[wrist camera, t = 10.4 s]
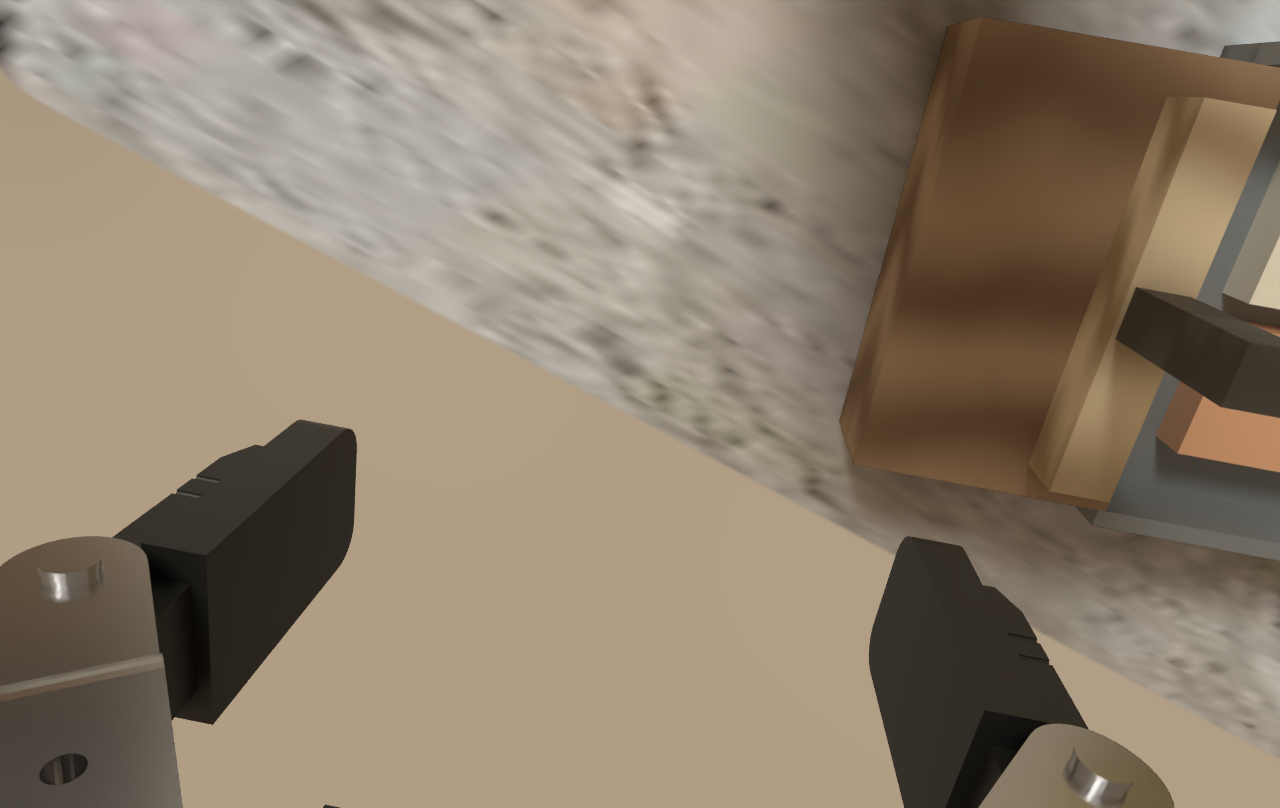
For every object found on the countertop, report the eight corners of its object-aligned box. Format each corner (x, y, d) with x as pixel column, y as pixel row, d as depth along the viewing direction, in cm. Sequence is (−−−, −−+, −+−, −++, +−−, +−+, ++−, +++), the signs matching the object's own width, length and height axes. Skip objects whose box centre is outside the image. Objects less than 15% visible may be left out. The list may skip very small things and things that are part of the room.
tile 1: (1377, 352, 35) (1344, 338, 37) (1234, 326, 35) (1208, 314, 37) (1311, 478, 37) (1283, 459, 39) (1177, 453, 37) (1155, 435, 39)
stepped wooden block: (947, 26, 34) (983, 16, 30) (1214, 72, 34) (1292, 70, 29) (839, 421, 41) (854, 464, 36) (1061, 462, 40) (1105, 511, 36)
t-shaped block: (1167, 96, 30) (1352, 101, 21) (1233, 108, 30) (1448, 117, 21) (1028, 464, 35) (1129, 590, 27) (1084, 475, 35) (1203, 604, 27)
